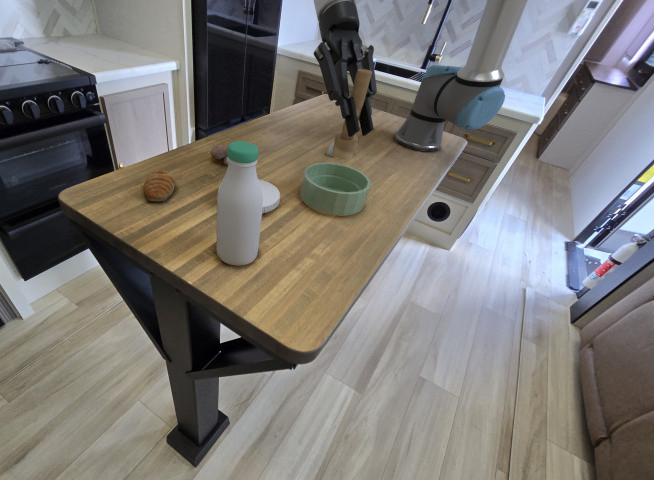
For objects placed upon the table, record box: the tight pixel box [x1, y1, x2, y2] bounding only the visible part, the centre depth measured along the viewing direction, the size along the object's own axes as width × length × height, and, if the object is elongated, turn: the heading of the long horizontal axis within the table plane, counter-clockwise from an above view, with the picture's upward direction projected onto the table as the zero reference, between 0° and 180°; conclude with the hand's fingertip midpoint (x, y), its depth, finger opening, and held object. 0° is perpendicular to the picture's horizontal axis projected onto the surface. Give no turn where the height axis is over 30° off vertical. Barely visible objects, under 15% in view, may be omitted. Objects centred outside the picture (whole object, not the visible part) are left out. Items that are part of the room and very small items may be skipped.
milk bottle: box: [216, 140, 263, 266], centre depth 55 cm, size 8×8×20 cm
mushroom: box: [210, 144, 229, 166], centre depth 89 cm, size 8×6×8 cm
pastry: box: [143, 169, 177, 202], centre depth 74 cm, size 9×7×4 cm
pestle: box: [331, 69, 372, 161], centre depth 68 cm, size 5×5×16 cm
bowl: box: [299, 162, 372, 217], centre depth 79 cm, size 16×16×6 cm
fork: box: [326, 141, 334, 157], centre depth 108 cm, size 3×21×3 cm, turn 154°
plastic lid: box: [217, 178, 281, 214], centre depth 76 cm, size 14×14×2 cm
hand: (361, 133), depth 67 cm, fingers closed on pestle, 3 cm apart
